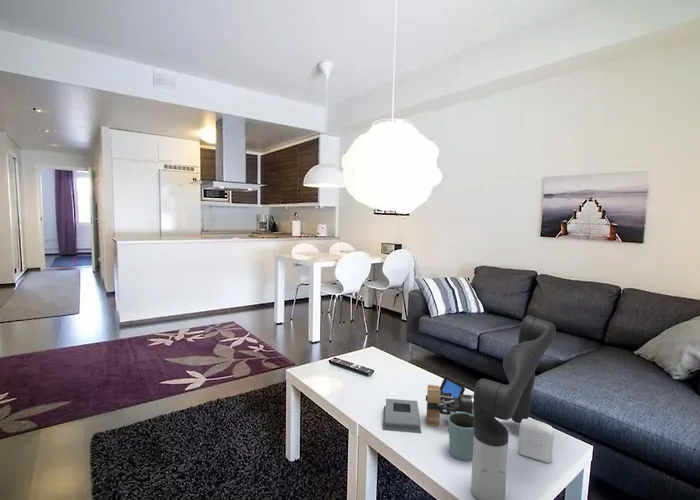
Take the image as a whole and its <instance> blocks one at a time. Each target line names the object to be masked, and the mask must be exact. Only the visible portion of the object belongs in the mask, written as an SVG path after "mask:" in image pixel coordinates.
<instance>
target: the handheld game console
mask: <svg viewBox="0 0 700 500" xmlns="http://www.w3.org/2000/svg"><path fill="white" fill-rule="evenodd" d="M439 387H440V390H441V393H452V397H456V398H457V397H458V395H459V394H464V393H465V390H466V388H465V386H463V385H461V384H460V383H457V382H456V381H454V380H452V379H450V378H449V377H447V376H445V377H444V378H443V380H442V382H441V385H439ZM440 401H441V400H440Z"/></svg>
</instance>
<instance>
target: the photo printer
mask: <svg viewBox="0 0 700 500" xmlns="http://www.w3.org/2000/svg"><path fill="white" fill-rule="evenodd" d="M518 432H519V433H518V441H517V443H518V444H517V453H518V454H519V455H522V456H524V457H528V458H530V459H534V460H537V461H541V462H543V463H548V464H550V463H551V462H552V460H553V459H552V458H553V448H554V447H553V446H554V437H555V434H554V430H553V426H551V425H550V424H547V423H546V422H543V421H540V420H537V419H532V418H528V419H522V421H521V423H519V431H518Z"/></svg>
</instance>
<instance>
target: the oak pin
mask: <svg viewBox="0 0 700 500" xmlns="http://www.w3.org/2000/svg"><path fill="white" fill-rule="evenodd" d="M440 393H441V390H440V385H436V384H427V395H426V396H427V401H426V404H427V403H437V405H438V404H440ZM440 415H441V414H440V411H438V410H432V409H427V408H426V418H425V419H426V424H427V426H433V427H439V426H440Z"/></svg>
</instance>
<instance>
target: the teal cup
mask: <svg viewBox="0 0 700 500" xmlns="http://www.w3.org/2000/svg"><path fill="white" fill-rule="evenodd" d="M447 417H448V418H447V423H448V436H449V437H448V441H449V442H448V443H449V444H448V445H449V448H448V449H449V454H450V455H451V456H452V457H453V458H455V459H457V460H459V461H462V462H471V461H472V457H473V439H474V427H473V415H471V414H469V413H465V412H455V413H452V414H450V415H447Z"/></svg>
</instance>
